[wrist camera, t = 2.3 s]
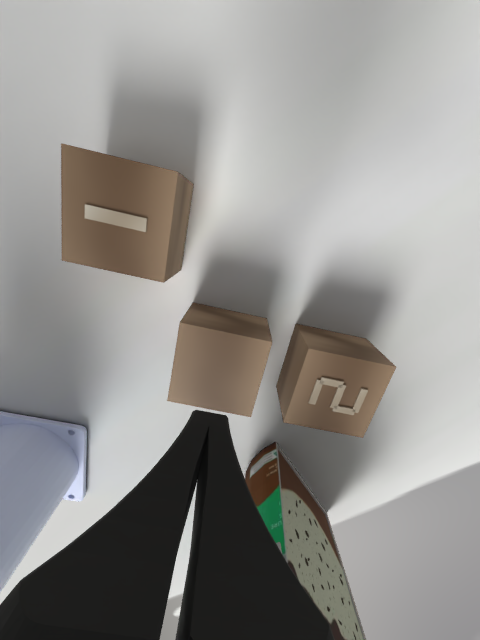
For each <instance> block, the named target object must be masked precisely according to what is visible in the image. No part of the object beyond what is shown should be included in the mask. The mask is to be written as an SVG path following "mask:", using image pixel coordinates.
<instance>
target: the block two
mask: <svg viewBox="0 0 480 640" xmlns="http://www.w3.org/2000/svg"><path fill="white" fill-rule="evenodd" d="M395 369H396V366H395V365H394V364H393V363H392V362H390V361H389V360H388V359H387V358H386V357H385V356H384V355H383V354H382V353H381V352H380V351H379V350H378V349H377V348H376V347H374V346H373V345H372V344H371V343H370V342H369V341H368V340H367V339H365V338H360V337H356V336H351V335H346V334H342V333H337V332H332V331H328V330H323V329H318V328H314V327H309V326H304V325H300V324H295V327H294V331H293V334H292V337H291V340H290V344H289V347H288V350H287V353H286V356H285V360H284V363H283V366H282V369H281V373H280V376H279V379H278V382H277V385H276V387H277V392H278V397H279V402H280V407H281V412H282V417H283V422H284V423H289V424H295V425H300V426H305V427H310V428H315V429H320V430H326V431H331V432H336V433H341V434H346V435H352V436H357V437H362V438H363V436H364V434H365V432H366V430H367V428H368V426H369V424H370V422H371V419H372V417H373V415H374V413H375V411H376V409H377V407H378V405H379V403H380V400H381V398H382V396H383V394H384V392H385V390H386V388H387V386H388V384H389V381H390V379H391V377H392V375H393V373H394V371H395Z"/></svg>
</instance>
